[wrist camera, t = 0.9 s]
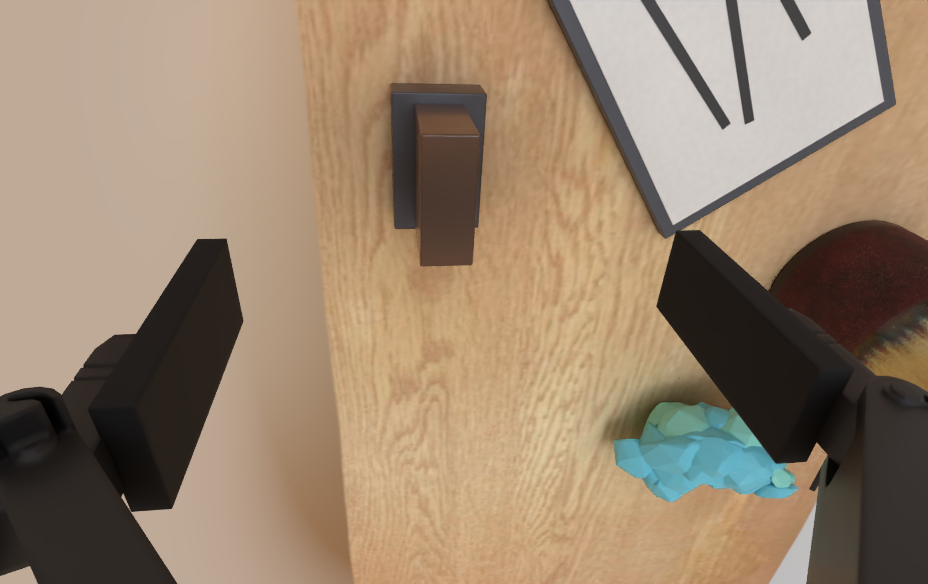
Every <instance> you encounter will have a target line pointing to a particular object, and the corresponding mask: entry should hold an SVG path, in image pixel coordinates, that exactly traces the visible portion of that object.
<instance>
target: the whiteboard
mask: <svg viewBox="0 0 928 584" xmlns="http://www.w3.org/2000/svg"><path fill="white" fill-rule="evenodd" d="M548 2H549V4H550V6H551V8H552V10H553V12H554V15H555V17H556V19H557V21H558V23H559V25H560V27H561V29H562V31H563V33H564V35H565V37H566V40H567V42H568V44H569V46H570V48H571V50H572V52H573V54H574V56H575V58H576V60H577V62H578V64H579V67H580V69H581V71H582V73H583V75H584V77H585V79H586V81H587V83H588V85H589V87H590V89H591V92H592V94H593V96H594V98H595V100H596V102H597V104H598V106H599V108H600V110H601V112H602V114H603V116H604V119H605V121H606V123H607V125H608V127H609V129H610V131H611V133H612V135H613V137H614V139H615V141H616V144H617V146H618V148H619V150H620V152H621V154H622V156H623V158H624V160H625V162H626V164H627V166H628V168H629V171H630V173H631V175H632V177H633V179H634V181H635V183H636V185H637V187H638V189H639V191H640V193H641V196H642V198H643V200H644V202H645V204H646V206H647V208H648V210H649V212H650V214H651V216H652V218H653V220H654V223H655V225H656V227H657V229H658V231H659V233H660V234H661V235H662V236H663V237H664V238H665V239H666V238H668V237H670V236H672V235H673V234H675V233H676V231H680V230H682V229H684V228H685V227H687V226H689V225H690V224H692V223H694V222H696V221H697V220H699V219H701V218H702V217H704V216H706V215H708V214H709V213H711V212H713V211H714V210H716V209H718V208H719V207H721V206H723V205H725V204H726V203H728V202H730V201H731V200H733V199H735V198H737V197H738V196H740V195H742V194H743V193H745V192H747V191H749V190H750V189H752V188H754V187H755V186H757V185H759V184H761V183H762V182H764V181H766V180H767V179H769V178H771V177H773V176H774V175H776V174H778V173H779V172H781V171H783V170H785V169H786V168H788V167H790V166H791V165H793V164H795V163H797V162H798V161H800V160H802V159H803V158H805V157H807V156H809V155H810V154H812V153H814V152H815V151H817V150H819V149H821V148H822V147H824V146H826V145H827V144H829V143H831V142H833V141H834V140H836V139H838V138H839V137H841V136H843V135H845V134H846V133H848V132H850V131H851V130H853V129H855V128H857V127H858V126H860V125H862V124H863V123H865V122H867V121H869V120H870V119H872V118H874V117H875V116H877V115H879V114H881V113H882V112H884V111H886V110H887V109H889V108H891V107H893V106H894V105H896V99H895V93H894V87H893V80H892V74H891V68H890V61H889V55H888V49H887V43H886V36H885V30H884V24H883V17H882V11H881V5H880V0H548Z"/></svg>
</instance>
